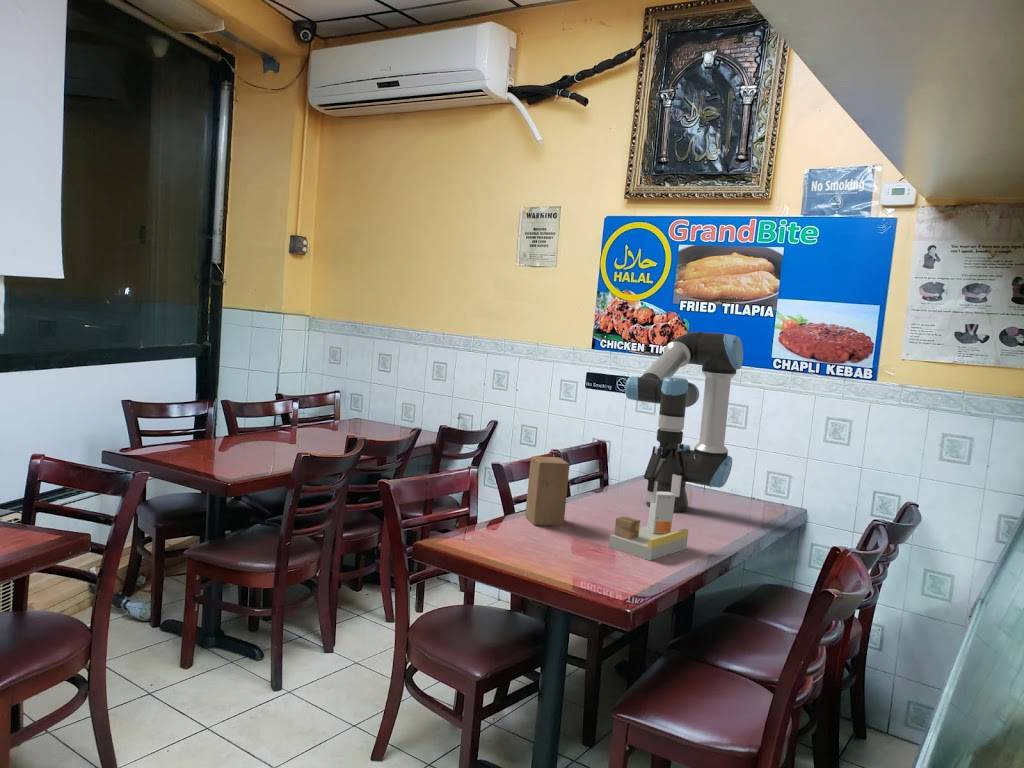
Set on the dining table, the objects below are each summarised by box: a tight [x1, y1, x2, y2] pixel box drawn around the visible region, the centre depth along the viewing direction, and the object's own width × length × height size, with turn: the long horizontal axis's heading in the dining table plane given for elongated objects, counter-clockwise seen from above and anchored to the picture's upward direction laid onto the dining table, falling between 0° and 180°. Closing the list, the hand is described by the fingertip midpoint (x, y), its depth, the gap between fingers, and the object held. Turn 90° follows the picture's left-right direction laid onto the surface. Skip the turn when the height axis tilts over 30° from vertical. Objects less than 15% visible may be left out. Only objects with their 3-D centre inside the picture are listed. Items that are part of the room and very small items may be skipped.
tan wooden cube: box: [614, 515, 641, 539], centre depth 220 cm, size 5×5×5 cm
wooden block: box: [524, 455, 570, 527], centre depth 240 cm, size 10×10×20 cm
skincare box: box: [647, 491, 675, 534], centre depth 227 cm, size 6×4×12 cm
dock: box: [608, 525, 689, 561], centre depth 222 cm, size 20×14×6 cm
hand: (663, 499), depth 227 cm, fingers open, 13 cm apart
